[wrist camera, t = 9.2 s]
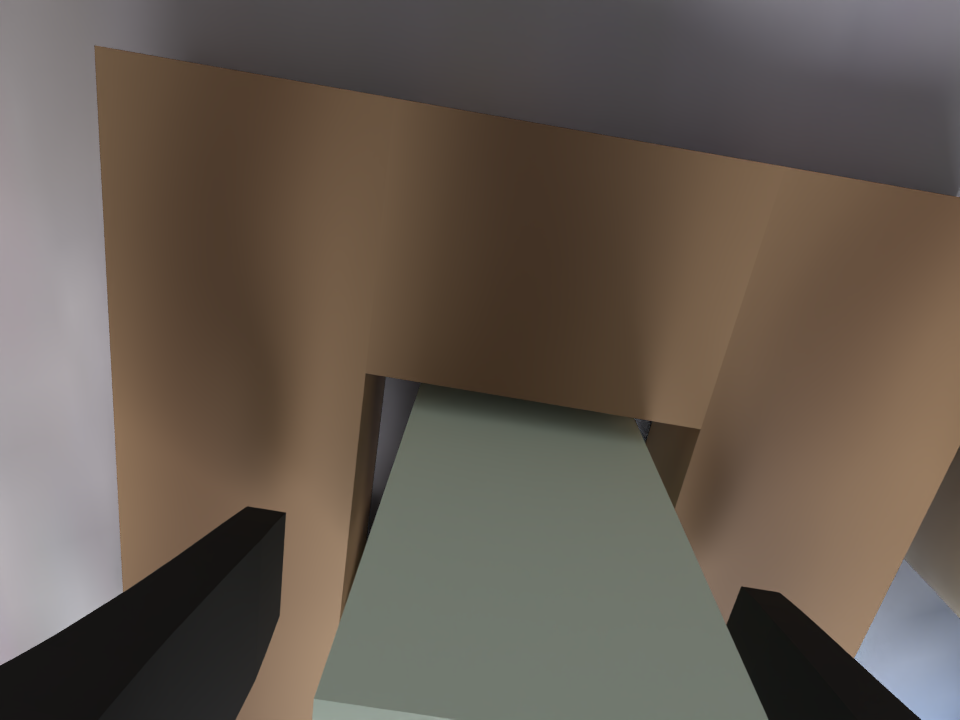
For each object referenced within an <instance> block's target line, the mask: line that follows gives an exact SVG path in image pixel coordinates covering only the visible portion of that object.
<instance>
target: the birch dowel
mask: <svg viewBox="0 0 960 720" xmlns="http://www.w3.org/2000/svg"><path fill="white" fill-rule="evenodd" d="M904 559H905V560H906V561H907V562H908V563H909V564H910V566H911V567H912V568H913V569H914V570H915V571H916V572H917V573H918V574H919V575H920V576H921V577H922V578H923V579H924V581H925V582H926V583H927V584H928V585H929V586H930V587H931V588H932V589H933V590H934V591H935V592H936V593H937V594H938V596H939V597H940V598H941V599H942V600H943V601H944V602H945V603H946V604H947V605H948V606H949V607H950V608H951V609H952V611H953V612H954V613H955V614H956V615H957V616H958V617H959V618H960V446H959V448H958V450H957V452H956V454H955V456H954V458H953V460H952V462H951V464H950V466H949V468H948V470H947V472H946V474H945V476H944V478H943V480H942V482H941V485H940V487H939V489H938V491H937V493H936V495H935V497H934V499H933V501H932V503H931V505H930V507H929V509H928V511H927V513H926V515H925V517H924V519H923V521H922V523H921V525H920V527H919V529H918V531H917V533H916V535H915V537H914V539H913V541H912V543H911V545H910V547H909V549H908V551H907V553H906V555H905V557H904Z"/></svg>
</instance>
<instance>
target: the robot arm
mask: <svg viewBox="0 0 960 720" xmlns="http://www.w3.org/2000/svg"><path fill="white" fill-rule="evenodd" d="M285 523H286V512H280V511H274V510H268V509H262V508H255V507H249V506H247V507H245V508H244V509H242V510H241V511H239V512H238V513H236V514H235V515H234V516H232V517H231V518H229V519H228V520H226V521H225V522H224V523H222V524H221V525H219V526H218V527H217V528H215V529H214V530H212V531H211V532H210V533H208V534H207V535H205V536H204V537H203V538H201V539H200V540H198V541H197V542H196V543H194V544H193V545H191V546H190V547H189V548H187V549H186V550H184V551H183V552H182V553H180V554H179V555H177V556H176V557H174V558H173V559H172V560H170V561H169V562H167V563H166V564H164V565H163V566H161V567H160V568H158V569H157V570H155V571H154V572H152V573H151V574H150V575H148V576H147V577H145V578H144V579H142V580H141V581H139V582H138V583H136V584H135V585H133V586H132V587H130V588H129V589H127V590H126V591H124V592H123V593H121V594H120V595H118V596H117V597H115V598H114V599H112V600H110V601H109V602H107V603H106V604H104V605H102V606H101V607H99V608H98V609H96V610H94V611H93V612H91V613H90V614H88V615H86V616H85V617H83V618H82V619H80V620H78V621H77V622H75V623H74V624H72V625H70V626H69V627H67V628H66V629H64V630H62V631H61V632H59V633H57V634H56V635H54V636H52V637H51V638H49V639H47V640H45V641H44V642H42V643H40V644H39V645H37V646H35V647H33V648H31V649H30V650H28V651H26V652H24V653H23V654H21V655H19V656H17V657H15V658H14V659H12V660H10V661H8V662H6V663H4V664H2V665H0V720H236V718H237V716H238V714H239V712H240V710H241V708H242V706H243V704H244V702H245V700H246V698H247V696H248V694H249V692H250V690H251V688H252V686H253V684H254V682H255V680H256V678H257V675H258V672H259V670H260V667H261V665H262V662H263V660H264V657H265V654H266V652H267V649H268V647H269V644H270V641H271V638H272V636H273V633H274V630H275V628H276V625H277V622H278V619H279V617H280V605H281V588H282V572H283V556H284V539H285ZM726 626H727V628H728V630H729V632H730V635H731V637H732V639H733V641H734V644H735V646H736V648H737V650H738V653H739V655H740V657H741V659H742V662H743V664H744V666H745V668H746V671H747V673H748V675H749V677H750V679H751V682H752V684H753V686H754V688H755V691H756V693H757V695H758V697H759V700H760V702H761V704H762V706H763V709H764V711H765V713H766V715H767V718H768V720H921V719H920V718H919V717H918V716H916V715H915V714H914V713H913V712H912V711H911V710H910V709H909V708H908V707H906V706H905V705H904V704H903V703H902V702H901V701H900V700H899V699H898V698H896V697H895V696H894V695H893V694H892V693H891V692H890V691H889V690H888V689H887V688H885V687H884V686H883V685H882V684H881V683H880V682H879V681H878V680H877V679H876V678H875V677H873V676H872V675H871V674H870V673H869V672H868V671H867V670H866V669H865V668H864V667H863V666H861V665H860V664H859V663H858V662H857V661H856V660H855V659H854V658H853V657H852V656H851V655H850V654H848V653H847V652H846V651H845V650H844V649H843V648H842V647H841V646H840V645H839V644H838V643H837V642H835V641H834V640H833V639H832V638H831V637H830V636H829V635H828V634H827V633H826V632H825V631H823V630H822V629H821V628H820V627H819V626H818V625H817V624H816V623H815V622H814V621H812V620H811V619H810V618H809V617H808V616H807V615H806V614H805V613H803V612H802V611H801V610H800V609H799V608H798V607H797V606H795V605H794V604H793V603H792V602H791V601H789V600H788V599H787V598H786V597H785V596H783V595H782V594H781V593H780V592H774V591H768V590H762V589H755V588H749V587H743V586H741V588H740V591H739V593H738V596H737V599H736V601H735V604H734V606H733V609H732V611H731V614H730V617H729V619H728V622H727V624H726Z"/></svg>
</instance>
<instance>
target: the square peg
mask: <svg viewBox="0 0 960 720" xmlns="http://www.w3.org/2000/svg"><path fill="white" fill-rule="evenodd" d="M312 720H768V718H767V715H766V713H765V711H764V709H763V706H762V704H761V702H760V700H759V697H758V695H757V693H756V691H755V688H754V686H753V684H752V682H751V679H750V677H749V675H748V673H747V671H746V668H745V666H744V664H743V662H742V659H741V657H740V655H739V653H738V650H737V648H736V646H735V644H734V641H733V639H732V637H731V635H730V632H729V630H728V628H727V626H726V623H725V621H724V619H723V617H722V614H721V612H720V610H719V608H718V605H717V603H716V601H715V599H714V597H713V594H712V592H711V590H710V588H709V585H708V583H707V581H706V579H705V576H704V574H703V572H702V570H701V567H700V565H699V563H698V561H697V558H696V556H695V554H694V552H693V549H692V547H691V545H690V543H689V540H688V538H687V536H686V534H685V531H684V529H683V527H682V525H681V522H680V520H679V518H678V516H677V514H676V511H675V509H674V507H673V505H672V502H671V500H670V498H669V496H668V493H667V491H666V489H665V487H664V484H663V482H662V480H661V478H660V475H659V473H658V471H657V469H656V466H655V464H654V462H653V460H652V457H651V455H650V453H649V451H648V448H647V446H646V444H645V442H644V439H643V437H642V435H641V433H640V431H639V428H638V426H637V424H636V422H635V419H634V418H631V417H625V416H619V415H613V414H607V413H601V412H595V411H589V410H583V409H577V408H571V407H565V406H559V405H553V404H547V403H541V402H535V401H529V400H523V399H517V398H511V397H505V396H499V395H493V394H487V393H481V392H475V391H469V390H463V389H457V388H451V387H445V386H439V385H433V384H427V383H421V384H420V387H419V390H418V393H417V396H416V399H415V402H414V405H413V408H412V411H411V414H410V417H409V420H408V423H407V425H406V428H405V431H404V434H403V437H402V440H401V443H400V446H399V449H398V452H397V455H396V458H395V461H394V464H393V467H392V470H391V473H390V476H389V479H388V481H387V484H386V487H385V490H384V493H383V496H382V499H381V502H380V505H379V508H378V511H377V514H376V517H375V520H374V523H373V526H372V529H371V532H370V535H369V537H368V540H367V543H366V546H365V549H364V552H363V555H362V558H361V561H360V564H359V567H358V570H357V573H356V576H355V579H354V582H353V585H352V588H351V591H350V593H349V596H348V599H347V602H346V605H345V608H344V611H343V614H342V617H341V620H340V623H339V626H338V629H337V632H336V635H335V638H334V641H333V644H332V647H331V649H330V652H329V655H328V658H327V661H326V664H325V667H324V670H323V673H322V676H321V679H320V682H319V685H318V688H317V691H316V694H315V697H314V702H313V715H312Z"/></svg>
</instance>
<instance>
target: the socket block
mask: <svg viewBox="0 0 960 720" xmlns="http://www.w3.org/2000/svg"><path fill="white" fill-rule="evenodd" d="M94 47H95V66H96V85H97V104H98V123H99V142H100V161H101V180H102V199H103V218H104V237H105V256H106V275H107V294H108V313H109V332H110V351H111V370H112V389H113V408H114V427H115V446H116V465H117V484H118V503H119V522H120V541H121V560H122V579H123V592H124V591H126V590H127V589H129V588H130V587H132V586H133V585H135V584H136V583H138V582H139V581H141V580H142V579H144V578H145V577H147V576H148V575H150V574H151V573H152V572H154V571H155V570H157V569H158V568H160V567H161V566H163V565H164V564H166V563H167V562H169V561H170V560H172V559H173V558H174V557H176V556H177V555H179V554H180V553H182V552H183V551H184V550H186V549H187V548H189V547H190V546H191V545H193V544H194V543H196V542H197V541H198V540H200V539H201V538H203V537H204V536H205V535H207V534H208V533H210V532H211V531H212V530H214V529H215V528H217V527H218V526H219V525H221V524H222V523H224V522H225V521H226V520H228V519H229V518H231V517H232V516H234V515H235V514H236V513H238V512H239V511H241V510H242V509H244V508H245V507H247V506H249V507H255V508H262V509H268V510H274V511H280V512H286V523H285V539H284V556H283V572H282V588H281V605H280V617H279V619H278V622H277V625H276V628H275V630H274V633H273V636H272V638H271V641H270V644H269V647H268V649H267V652H266V654H265V657H264V660H263V662H262V665H261V667H260V670H259V672H258V675H257V678H256V680H255V682H254V684H253V686H252V688H251V690H250V692H249V694H248V696H247V698H246V700H245V702H244V704H243V706H242V708H241V710H240V712H239V714H238V716H237V718H236V720H312V715H313V702H314V697H315V694H316V691H317V688H318V685H319V682H320V679H321V676H322V673H323V670H324V667H325V664H326V661H327V658H328V655H329V652H330V649H331V647H332V644H333V641H334V638H335V635H336V632H337V629H338V626H339V623H340V620H341V617H342V614H343V611H344V608H345V605H346V602H347V599H348V596H349V593H350V591H351V588H352V585H353V582H354V579H355V576H356V573H357V570H358V567H359V564H360V561H361V558H362V555H363V552H364V549H365V546H366V539H367V530H368V522H369V514H370V505H371V497H372V488H373V480H374V471H375V463H376V454H377V446H378V437H379V429H380V420H381V412H382V403H383V395H384V386H385V378H386V377H391V378H397V379H403V380H409V381H415V382H421V383H427V384H433V385H439V386H445V387H451V388H457V389H463V390H469V391H475V392H481V393H487V394H493V395H499V396H505V397H511V398H517V399H523V400H529V401H535V402H541V403H547V404H553V405H559V406H565V407H571V408H577V409H583V410H589V411H595V412H601V413H607V414H613V415H619V416H625V417H631V418H637V419H643V420H649V421H652V423H651V427H650V430H649V434H648V437H647V440H646V446H647V448H648V451H649V453H650V455H651V457H652V460H653V462H654V464H655V466H656V469H657V471H658V473H659V475H660V478H661V480H662V482H663V484H664V487H665V489H666V491H667V493H668V496H669V498H670V500H671V502H672V505H673V507H674V509H675V511H676V514H677V516H678V518H679V520H680V522H681V525H682V527H683V529H684V531H685V534H686V536H687V538H688V540H689V543H690V545H691V547H692V549H693V552H694V554H695V556H696V558H697V561H698V563H699V565H700V567H701V570H702V572H703V574H704V576H705V579H706V581H707V583H708V585H709V588H710V590H711V592H712V594H713V597H714V599H715V601H716V603H717V605H718V608H719V610H720V612H721V614H722V617H723V619H724V621H725V623H726V624H727V622H728V619H729V617H730V614H731V611H732V609H733V606H734V604H735V601H736V599H737V596H738V593H739V591H740V588H741V586H743V587H749V588H755V589H762V590H768V591H774V592H780V593H781V594H782V595H783V596H785V597H786V598H787V599H788V600H789V601H791V602H792V603H793V604H794V605H795V606H797V607H798V608H799V609H800V610H801V611H802V612H803V613H805V614H806V615H807V616H808V617H809V618H810V619H811V620H812V621H814V622H815V623H816V624H817V625H818V626H819V627H820V628H821V629H822V630H823V631H825V632H826V633H827V634H828V635H829V636H830V637H831V638H832V639H833V640H834V641H835V642H837V643H838V644H839V645H840V646H841V647H842V648H843V649H844V650H845V651H846V652H847V653H848V654H850V655H851V656H852V657H853V658H854V657H855V655H856V653H857V651H858V649H859V647H860V645H861V643H862V641H863V639H864V637H865V635H866V633H867V631H868V629H869V627H870V625H871V623H872V621H873V619H874V617H875V615H876V613H877V611H878V609H879V607H880V605H881V603H882V601H883V599H884V597H885V595H886V593H887V591H888V589H889V587H890V585H891V583H892V581H893V579H894V577H895V575H896V573H897V571H898V569H899V567H900V565H901V563H902V561H903V559H904V557H905V555H906V553H907V551H908V549H909V547H910V545H911V543H912V541H913V539H914V537H915V535H916V533H917V531H918V529H919V527H920V525H921V523H922V521H923V519H924V517H925V515H926V513H927V511H928V509H929V507H930V505H931V503H932V501H933V499H934V497H935V495H936V493H937V491H938V489H939V487H940V485H941V482H942V480H943V478H944V476H945V474H946V472H947V470H948V468H949V466H950V464H951V462H952V460H953V458H954V456H955V454H956V452H957V450H958V448H959V446H960V197H955V196H949V195H944V194H938V193H932V192H927V191H921V190H915V189H909V188H904V187H898V186H892V185H887V184H881V183H875V182H870V181H864V180H858V179H853V178H847V177H841V176H835V175H830V174H824V173H818V172H813V171H807V170H801V169H796V168H790V167H784V166H778V165H773V164H767V163H761V162H756V161H750V160H744V159H739V158H733V157H727V156H721V155H716V154H710V153H704V152H699V151H693V150H687V149H682V148H676V147H670V146H664V145H659V144H653V143H647V142H642V141H636V140H630V139H625V138H619V137H613V136H608V135H602V134H596V133H590V132H585V131H579V130H573V129H568V128H562V127H556V126H551V125H545V124H539V123H533V122H528V121H522V120H516V119H511V118H505V117H499V116H494V115H488V114H482V113H476V112H471V111H465V110H459V109H454V108H448V107H442V106H437V105H431V104H425V103H419V102H414V101H408V100H402V99H397V98H391V97H385V96H380V95H374V94H368V93H362V92H357V91H351V90H345V89H340V88H334V87H328V86H323V85H317V84H311V83H306V82H300V81H294V80H288V79H283V78H277V77H271V76H266V75H260V74H254V73H249V72H243V71H237V70H231V69H226V68H220V67H214V66H209V65H203V64H197V63H192V62H186V61H180V60H174V59H169V58H163V57H157V56H152V55H146V54H140V53H135V52H129V51H123V50H117V49H112V48H106V47H100V46H95V45H94Z"/></svg>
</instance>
